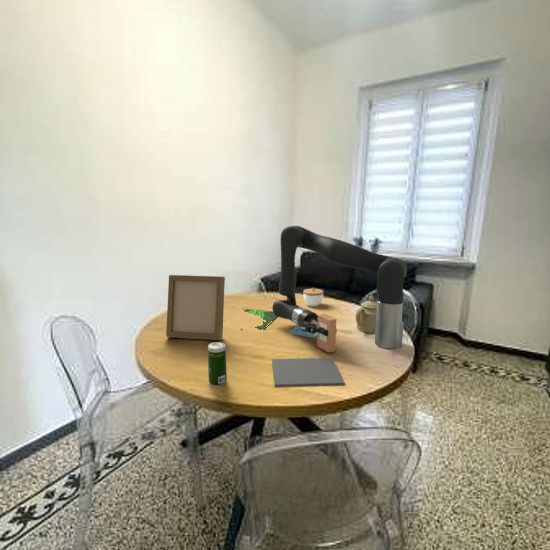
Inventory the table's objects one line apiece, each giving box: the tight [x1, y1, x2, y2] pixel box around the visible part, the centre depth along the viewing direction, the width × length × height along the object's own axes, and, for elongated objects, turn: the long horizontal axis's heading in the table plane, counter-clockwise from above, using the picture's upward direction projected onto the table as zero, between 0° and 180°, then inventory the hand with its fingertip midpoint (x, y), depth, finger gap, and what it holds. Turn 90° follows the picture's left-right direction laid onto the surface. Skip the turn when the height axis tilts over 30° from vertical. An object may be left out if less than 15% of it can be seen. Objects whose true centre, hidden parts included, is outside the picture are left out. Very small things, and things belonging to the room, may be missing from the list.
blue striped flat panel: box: [288, 324, 317, 339], centre depth 147 cm, size 14×12×1 cm
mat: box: [271, 357, 346, 387], centre depth 111 cm, size 21×17×1 cm
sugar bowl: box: [355, 294, 377, 334], centre depth 146 cm, size 15×11×15 cm
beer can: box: [207, 341, 228, 388], centre depth 103 cm, size 5×5×12 cm
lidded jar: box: [302, 287, 325, 308], centre depth 182 cm, size 11×11×9 cm
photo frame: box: [165, 274, 226, 341], centre depth 140 cm, size 15×22×25 cm
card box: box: [316, 313, 337, 353], centre depth 125 cm, size 3×7×12 cm, turn 28°
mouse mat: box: [244, 308, 278, 331], centre depth 160 cm, size 27×22×1 cm
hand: (331, 332), depth 122 cm, fingers closed on card box, 3 cm apart
